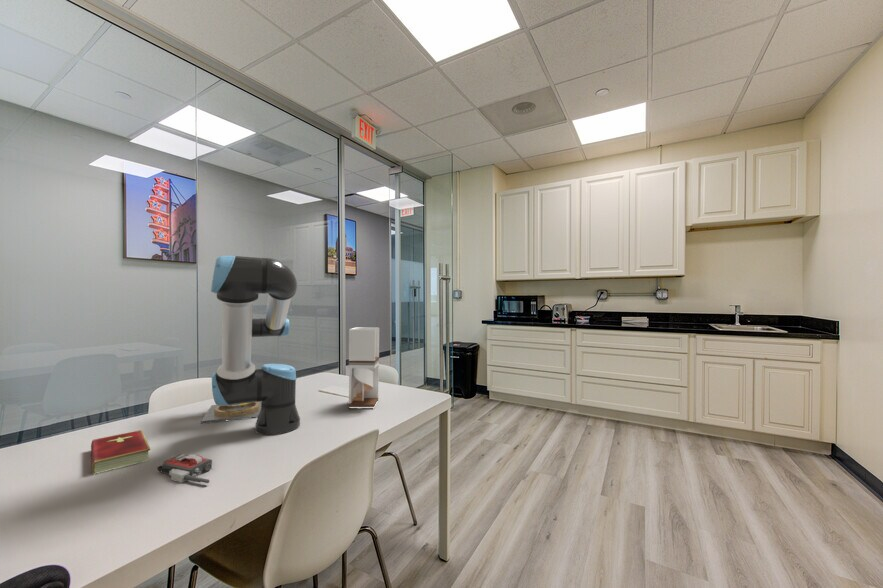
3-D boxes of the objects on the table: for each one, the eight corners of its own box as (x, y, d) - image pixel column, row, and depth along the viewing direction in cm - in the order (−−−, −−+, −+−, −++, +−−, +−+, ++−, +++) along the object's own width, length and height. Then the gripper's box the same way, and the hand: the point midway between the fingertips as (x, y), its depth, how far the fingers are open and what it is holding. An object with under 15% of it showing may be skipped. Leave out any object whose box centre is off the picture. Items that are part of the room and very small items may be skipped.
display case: (348, 408, 152) (349, 329, 153) (353, 401, 163) (355, 327, 163) (374, 409, 152) (375, 329, 153) (378, 402, 163) (379, 327, 164)
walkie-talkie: (148, 477, 93) (204, 489, 88) (148, 460, 93) (204, 471, 88) (181, 462, 102) (234, 472, 96) (181, 447, 102) (234, 456, 96)
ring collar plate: (265, 416, 141) (265, 410, 141) (200, 423, 132) (200, 417, 132) (267, 401, 161) (267, 396, 161) (211, 407, 152) (211, 401, 152)
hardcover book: (91, 477, 93) (92, 461, 93) (90, 452, 108) (91, 439, 108) (149, 462, 102) (150, 447, 102) (141, 441, 116) (141, 429, 116)
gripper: (232, 346, 156) (231, 396, 155) (224, 353, 135) (223, 410, 135) (251, 345, 159) (250, 394, 158) (246, 352, 138) (245, 408, 138)
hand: (237, 402), depth 146 cm, fingers closed on tape roll, 10 cm apart
